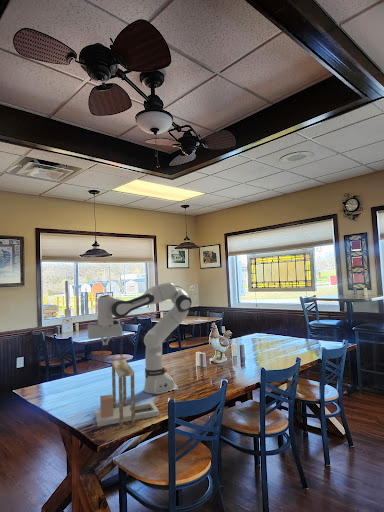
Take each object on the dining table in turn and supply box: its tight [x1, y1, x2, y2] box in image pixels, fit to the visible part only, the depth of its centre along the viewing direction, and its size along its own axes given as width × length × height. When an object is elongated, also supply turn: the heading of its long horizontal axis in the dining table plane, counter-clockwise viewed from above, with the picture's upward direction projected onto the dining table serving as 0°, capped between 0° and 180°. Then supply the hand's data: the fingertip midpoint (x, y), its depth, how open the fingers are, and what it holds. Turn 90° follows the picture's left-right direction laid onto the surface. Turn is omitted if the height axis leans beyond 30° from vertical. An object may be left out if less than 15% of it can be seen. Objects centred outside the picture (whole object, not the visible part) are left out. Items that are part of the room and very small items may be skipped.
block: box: [99, 393, 114, 417], centre depth 182 cm, size 6×6×9 cm
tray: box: [94, 401, 160, 427], centre depth 185 cm, size 32×14×2 cm, turn 110°
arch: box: [111, 359, 136, 429], centre depth 185 cm, size 8×28×26 cm, turn 20°
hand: (105, 344), depth 208 cm, fingers closed
